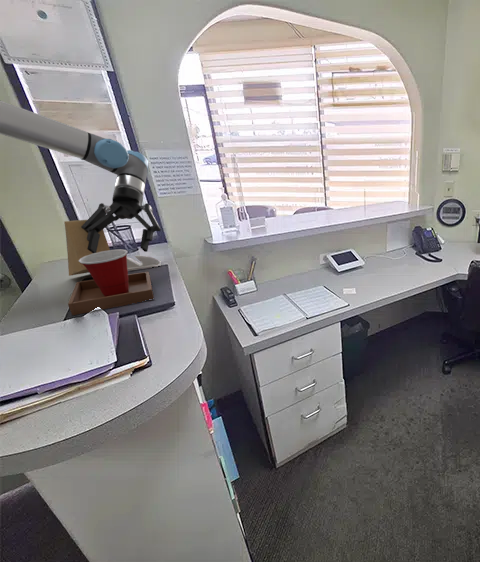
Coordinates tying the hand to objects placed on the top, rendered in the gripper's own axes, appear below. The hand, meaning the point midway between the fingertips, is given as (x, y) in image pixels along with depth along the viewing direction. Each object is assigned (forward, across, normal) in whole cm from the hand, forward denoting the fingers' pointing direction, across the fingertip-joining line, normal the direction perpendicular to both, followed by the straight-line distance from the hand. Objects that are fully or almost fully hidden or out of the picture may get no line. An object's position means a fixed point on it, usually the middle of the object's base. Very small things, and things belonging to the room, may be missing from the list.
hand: (118, 250), depth 93 cm
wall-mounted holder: (-5, +8, -22) cm, 24 cm away
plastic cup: (+13, 0, -3) cm, 13 cm away
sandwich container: (0, +13, -12) cm, 18 cm away
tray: (+13, 0, -3) cm, 14 cm away
